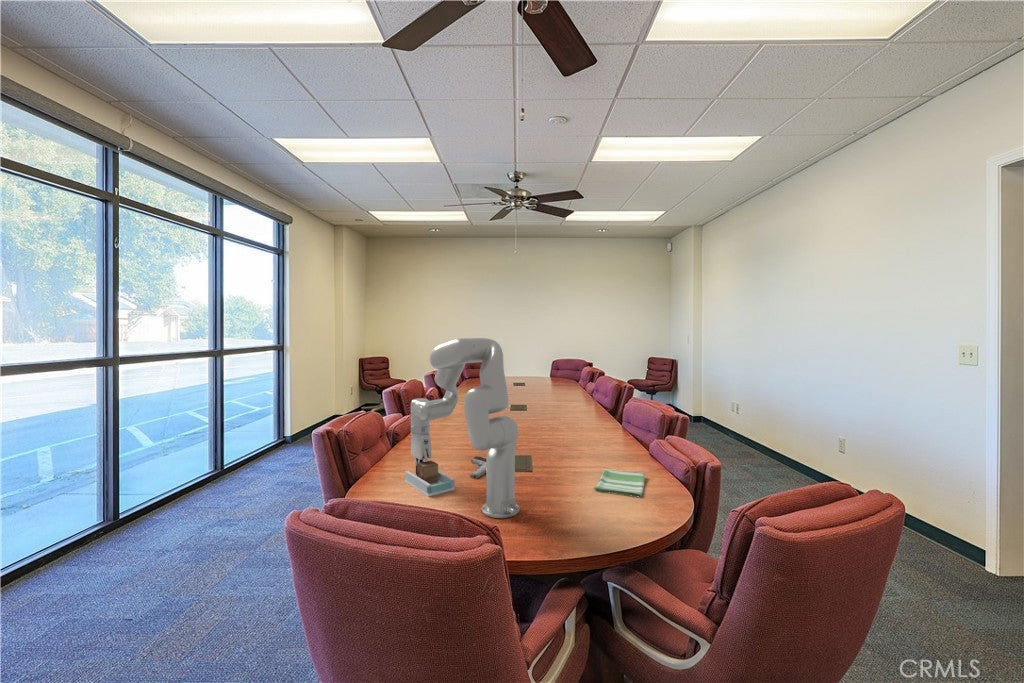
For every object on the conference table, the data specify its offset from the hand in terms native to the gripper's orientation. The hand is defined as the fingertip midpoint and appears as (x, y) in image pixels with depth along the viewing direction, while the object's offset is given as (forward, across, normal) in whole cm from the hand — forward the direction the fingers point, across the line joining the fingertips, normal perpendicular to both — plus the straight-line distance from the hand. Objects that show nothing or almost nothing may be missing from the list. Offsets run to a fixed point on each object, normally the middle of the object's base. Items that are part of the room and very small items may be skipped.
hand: (420, 474), depth 177 cm
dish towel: (+3, -52, -61) cm, 80 cm away
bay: (+2, -8, 0) cm, 8 cm away
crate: (+1, -6, 0) cm, 6 cm away
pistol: (+3, -1, -27) cm, 27 cm away
